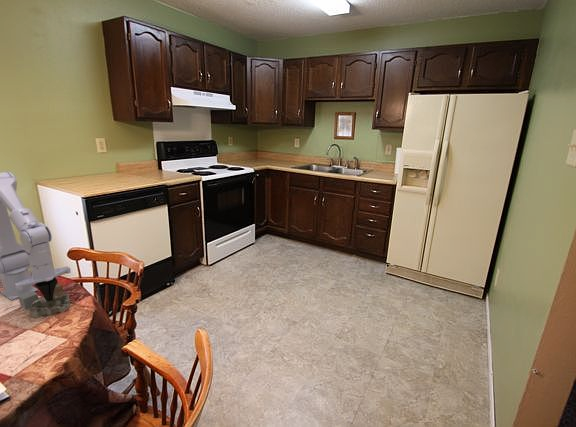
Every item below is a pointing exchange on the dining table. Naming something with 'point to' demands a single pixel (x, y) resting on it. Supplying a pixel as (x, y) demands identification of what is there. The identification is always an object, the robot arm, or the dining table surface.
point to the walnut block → (58, 290)
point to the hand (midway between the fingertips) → (49, 299)
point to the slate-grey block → (27, 299)
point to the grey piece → (56, 304)
